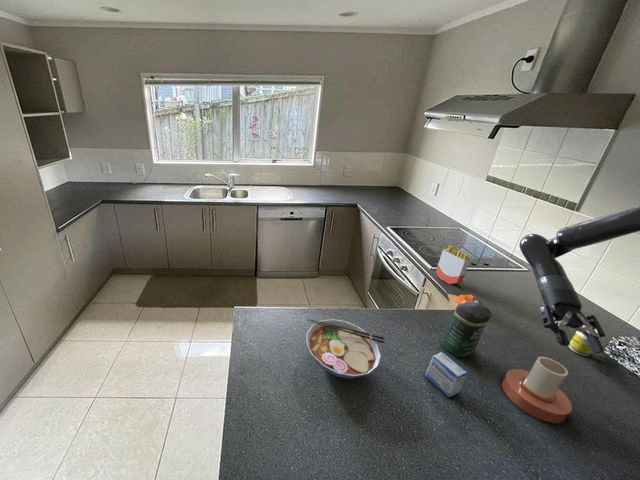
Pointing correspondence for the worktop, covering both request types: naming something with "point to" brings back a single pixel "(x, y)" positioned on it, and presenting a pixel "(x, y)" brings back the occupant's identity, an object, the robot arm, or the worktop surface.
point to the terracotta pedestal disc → (535, 399)
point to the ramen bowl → (343, 348)
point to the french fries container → (452, 265)
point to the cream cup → (545, 377)
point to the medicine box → (446, 374)
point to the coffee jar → (466, 328)
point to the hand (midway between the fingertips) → (581, 348)
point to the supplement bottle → (580, 344)
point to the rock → (459, 300)
